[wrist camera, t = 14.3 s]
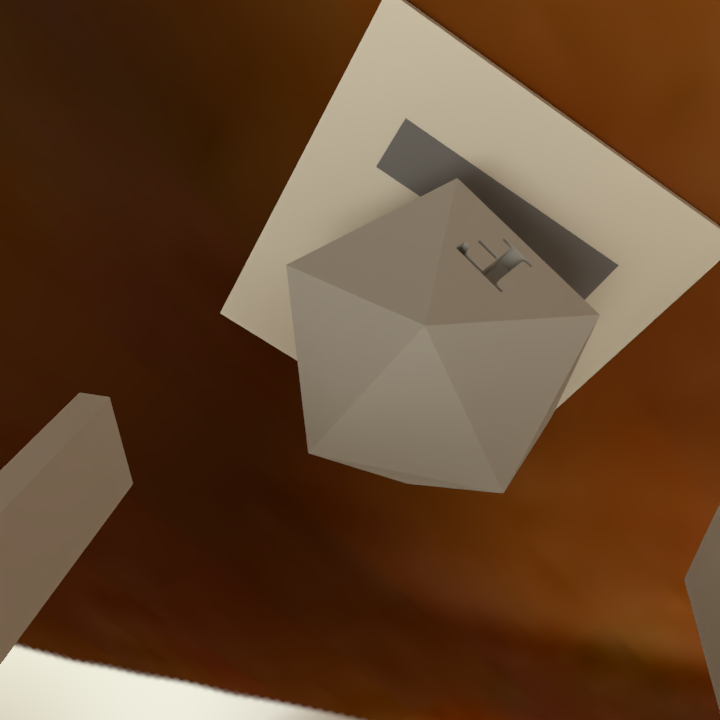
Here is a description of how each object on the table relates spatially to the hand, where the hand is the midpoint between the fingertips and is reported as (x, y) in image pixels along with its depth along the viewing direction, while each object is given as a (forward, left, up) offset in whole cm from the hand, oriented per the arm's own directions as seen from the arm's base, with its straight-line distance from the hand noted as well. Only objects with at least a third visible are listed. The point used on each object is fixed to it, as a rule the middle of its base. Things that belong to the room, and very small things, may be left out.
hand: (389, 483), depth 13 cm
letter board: (0, 0, -11) cm, 11 cm away
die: (0, 0, -10) cm, 10 cm away
